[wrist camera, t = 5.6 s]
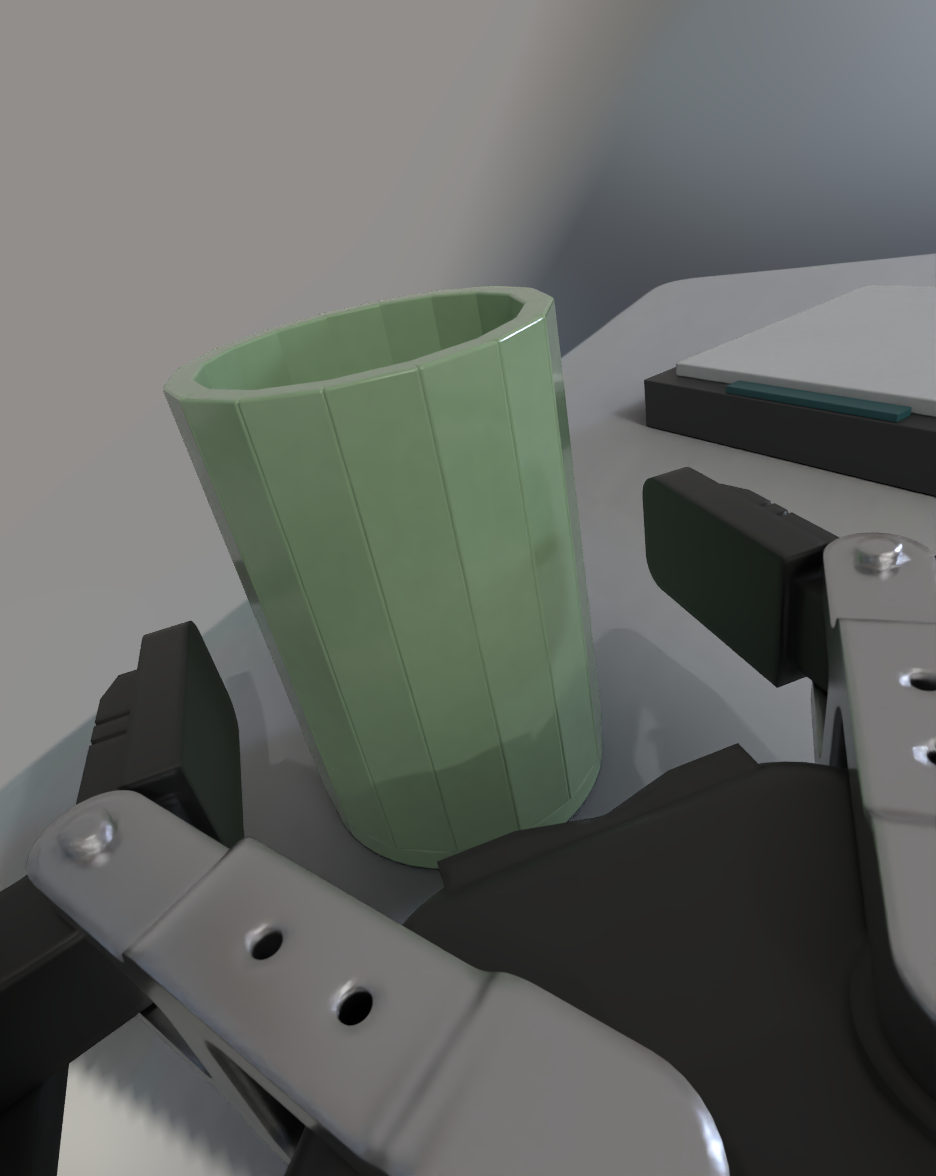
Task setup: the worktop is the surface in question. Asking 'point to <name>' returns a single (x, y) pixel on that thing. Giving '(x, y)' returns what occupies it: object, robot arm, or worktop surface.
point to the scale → (820, 388)
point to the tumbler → (412, 556)
